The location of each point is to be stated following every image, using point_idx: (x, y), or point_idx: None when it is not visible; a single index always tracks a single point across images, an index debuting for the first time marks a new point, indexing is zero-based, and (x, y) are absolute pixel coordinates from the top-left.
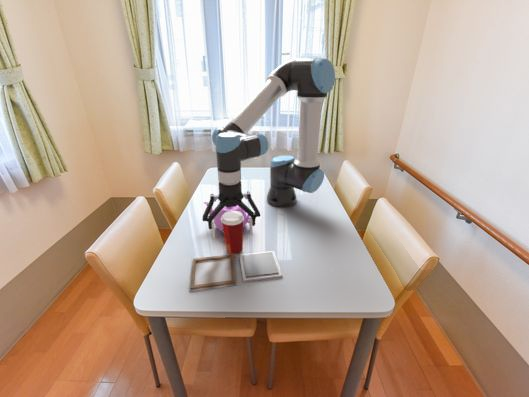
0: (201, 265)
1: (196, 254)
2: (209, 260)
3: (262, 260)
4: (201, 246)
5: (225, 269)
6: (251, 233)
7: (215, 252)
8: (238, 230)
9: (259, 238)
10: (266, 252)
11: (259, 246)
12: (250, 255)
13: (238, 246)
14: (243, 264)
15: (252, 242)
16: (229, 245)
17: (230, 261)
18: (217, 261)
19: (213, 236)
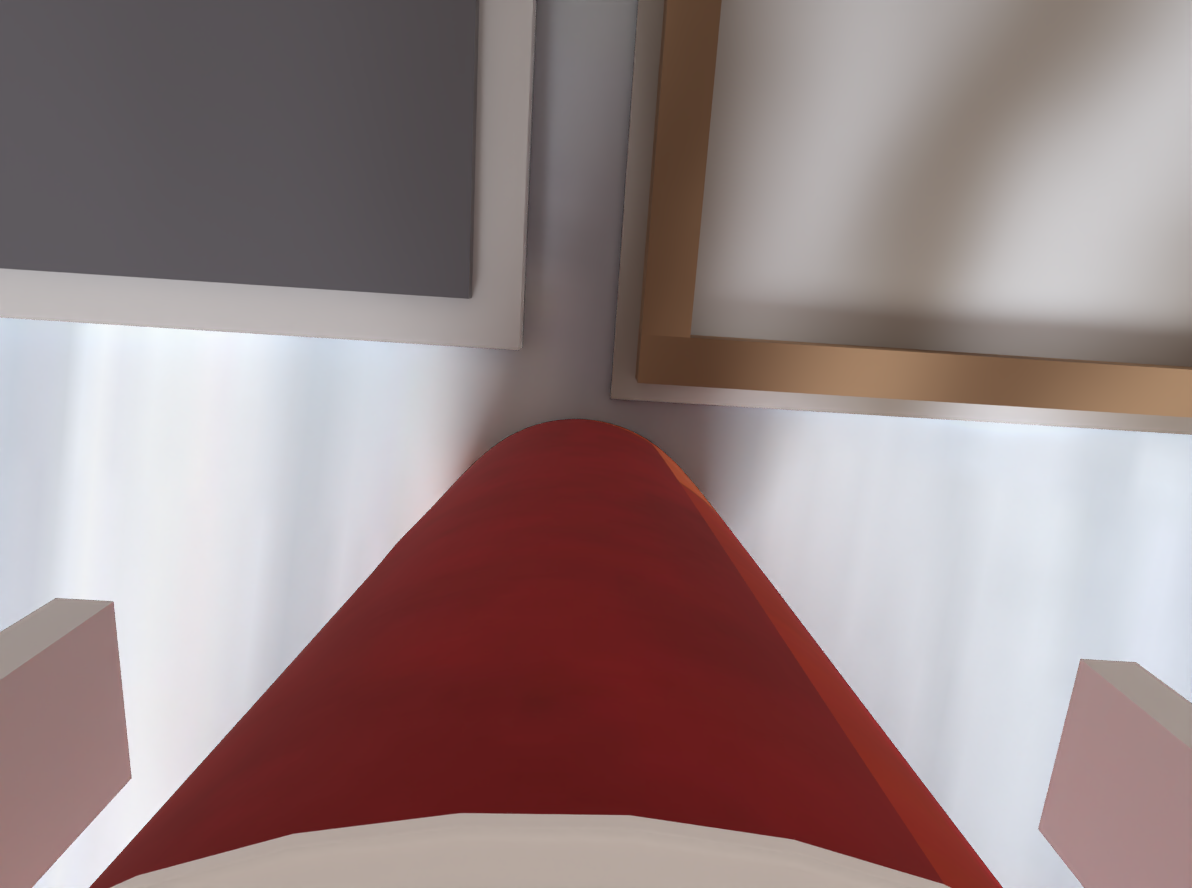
0: (1164, 260)
1: (1172, 557)
2: (1018, 353)
3: (108, 51)
4: (1062, 723)
5: (805, 51)
6: (57, 618)
7: (883, 537)
8: (372, 633)
9: (140, 719)
10: (25, 293)
11: (159, 523)
12: (321, 257)
13: (505, 454)
14: (482, 56)
15: (265, 647)
16: (690, 486)
17: (700, 189)
18: (898, 295)
19: (1157, 689)
